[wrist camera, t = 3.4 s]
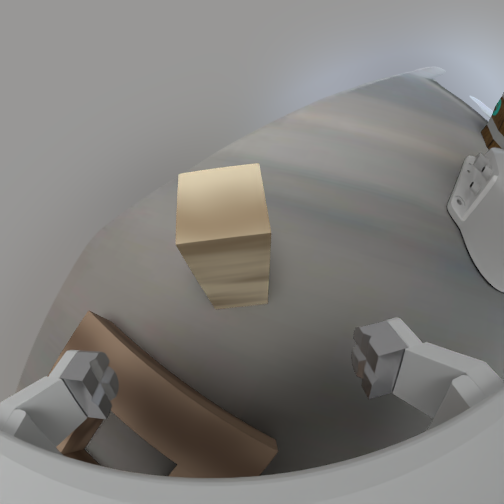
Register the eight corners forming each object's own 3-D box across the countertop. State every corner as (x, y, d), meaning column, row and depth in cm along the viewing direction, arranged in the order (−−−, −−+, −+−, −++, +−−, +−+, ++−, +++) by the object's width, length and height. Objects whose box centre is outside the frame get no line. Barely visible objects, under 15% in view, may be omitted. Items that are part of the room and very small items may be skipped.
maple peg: (212, 262, 25) (178, 173, 15) (261, 256, 26) (258, 163, 15) (215, 309, 23) (175, 244, 13) (267, 303, 24) (271, 232, 13)
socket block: (111, 321, 23) (88, 310, 20) (275, 439, 18) (278, 451, 15) (38, 441, 17) (14, 442, 13) (170, 554, 12) (157, 572, 8)
